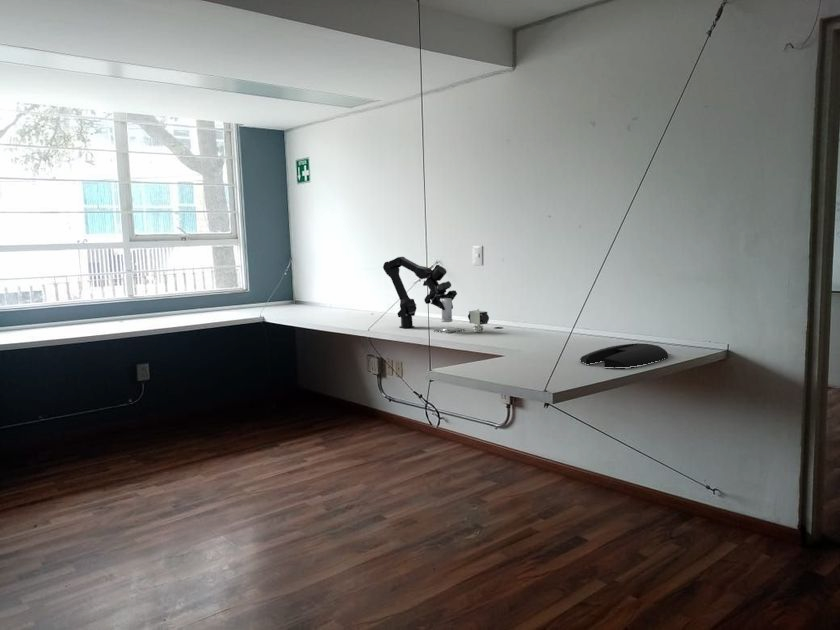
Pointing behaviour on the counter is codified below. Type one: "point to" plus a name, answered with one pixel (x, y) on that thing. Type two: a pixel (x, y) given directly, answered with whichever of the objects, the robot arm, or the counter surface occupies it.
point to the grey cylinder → (447, 310)
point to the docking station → (626, 355)
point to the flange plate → (449, 329)
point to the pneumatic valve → (478, 319)
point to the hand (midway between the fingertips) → (448, 309)
